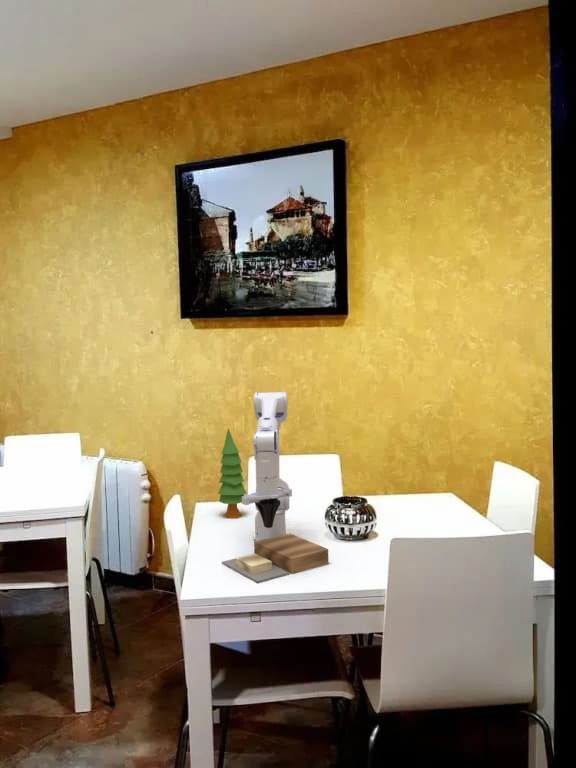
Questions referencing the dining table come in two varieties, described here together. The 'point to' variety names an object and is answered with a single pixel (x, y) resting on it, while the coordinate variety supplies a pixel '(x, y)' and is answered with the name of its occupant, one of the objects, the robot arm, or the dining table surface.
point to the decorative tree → (231, 478)
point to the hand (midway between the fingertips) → (268, 526)
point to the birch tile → (254, 563)
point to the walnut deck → (291, 553)
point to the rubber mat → (259, 576)
